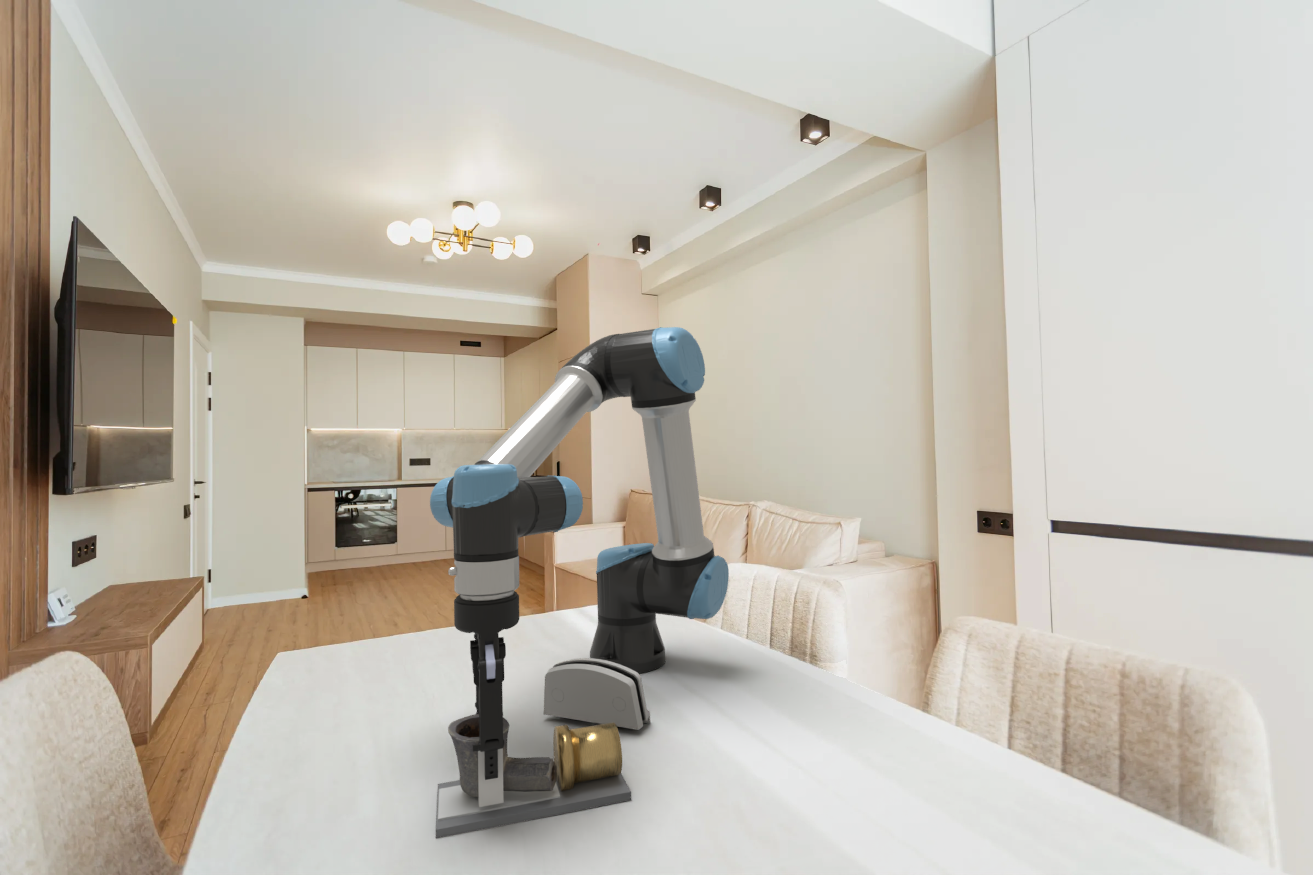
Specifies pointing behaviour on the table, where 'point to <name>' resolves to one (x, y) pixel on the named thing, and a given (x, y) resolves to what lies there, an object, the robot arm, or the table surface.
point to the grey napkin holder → (596, 693)
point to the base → (522, 804)
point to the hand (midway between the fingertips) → (489, 788)
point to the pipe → (515, 770)
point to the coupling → (586, 753)
